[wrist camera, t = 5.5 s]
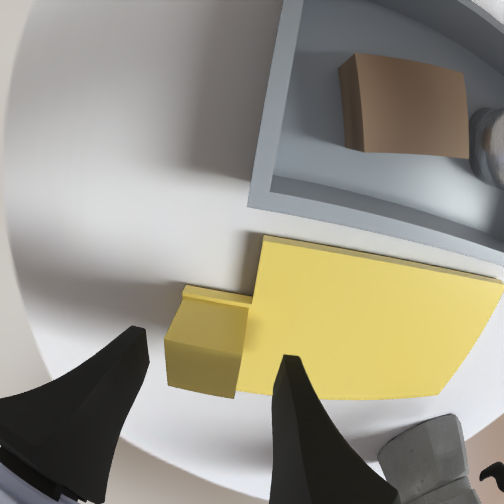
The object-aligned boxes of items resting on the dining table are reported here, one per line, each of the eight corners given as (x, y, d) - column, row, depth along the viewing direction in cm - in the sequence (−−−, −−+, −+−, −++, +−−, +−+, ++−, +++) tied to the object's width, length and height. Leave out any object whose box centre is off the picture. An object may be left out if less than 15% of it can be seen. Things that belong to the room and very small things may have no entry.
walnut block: (431, 79, 7) (463, 73, 5) (436, 151, 9) (468, 159, 7) (337, 68, 8) (355, 52, 6) (345, 148, 9) (364, 152, 7)
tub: (533, 100, 7) (576, 105, 4) (504, 249, 10) (542, 279, 7) (291, -22, 7) (297, -69, 3) (254, 183, 10) (246, 207, 7)
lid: (496, 276, 11) (533, 312, 8) (432, 384, 15) (450, 424, 12) (192, 219, 11) (158, 260, 8) (187, 366, 15) (170, 419, 12)
